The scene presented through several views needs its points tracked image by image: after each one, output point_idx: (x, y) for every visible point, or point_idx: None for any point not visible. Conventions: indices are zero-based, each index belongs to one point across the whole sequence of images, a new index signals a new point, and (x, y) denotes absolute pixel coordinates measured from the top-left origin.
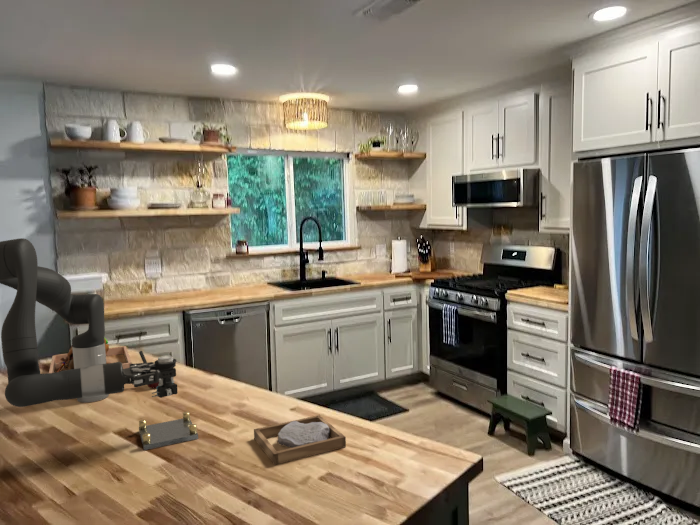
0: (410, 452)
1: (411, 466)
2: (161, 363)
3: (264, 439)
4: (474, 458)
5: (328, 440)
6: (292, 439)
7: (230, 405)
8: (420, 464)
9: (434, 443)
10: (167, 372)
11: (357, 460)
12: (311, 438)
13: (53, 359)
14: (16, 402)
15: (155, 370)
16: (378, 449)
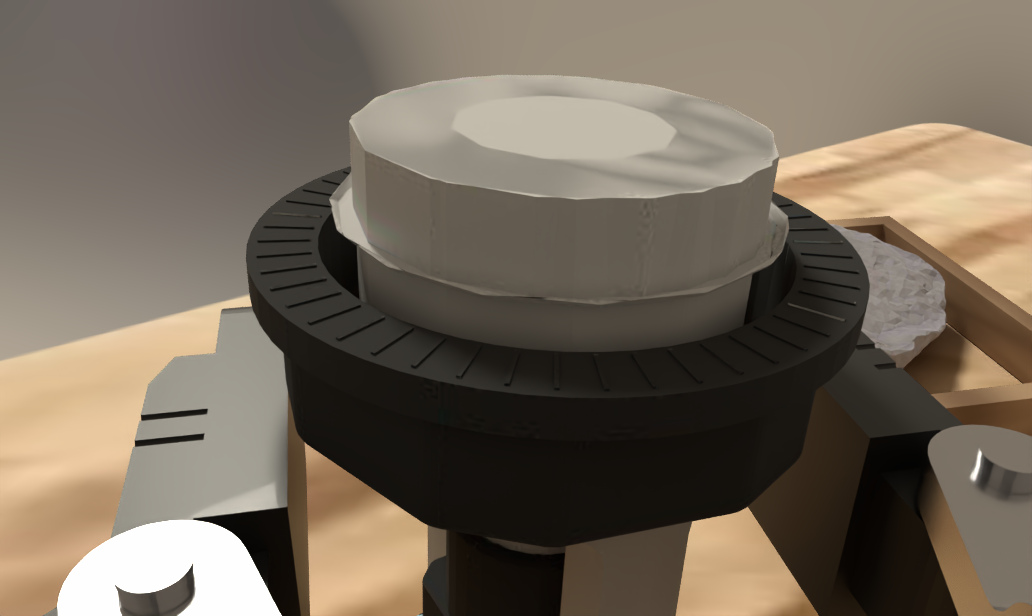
0: (919, 176)
1: (1023, 189)
2: (746, 292)
3: (938, 400)
4: (949, 124)
5: (929, 248)
6: (906, 327)
7: (23, 565)
8: (1005, 178)
9: (850, 143)
10: (900, 385)
11: (1001, 252)
12: (922, 275)
13: None
14: None
15: (1024, 511)
16: (899, 210)
